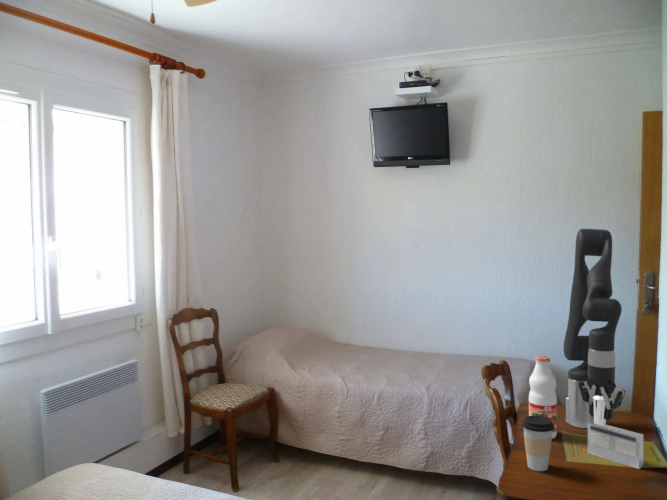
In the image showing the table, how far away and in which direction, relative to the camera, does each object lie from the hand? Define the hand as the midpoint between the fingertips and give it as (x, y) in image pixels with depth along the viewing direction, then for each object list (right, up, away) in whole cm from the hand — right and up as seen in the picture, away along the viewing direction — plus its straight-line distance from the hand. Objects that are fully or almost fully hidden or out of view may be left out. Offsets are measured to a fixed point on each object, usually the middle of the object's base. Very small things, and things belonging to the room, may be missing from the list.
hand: (600, 417), depth 172 cm
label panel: (+7, -15, +6) cm, 18 cm away
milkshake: (0, -2, 0) cm, 2 cm away
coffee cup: (-19, -16, +2) cm, 25 cm away
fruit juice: (-8, -15, +28) cm, 32 cm away
